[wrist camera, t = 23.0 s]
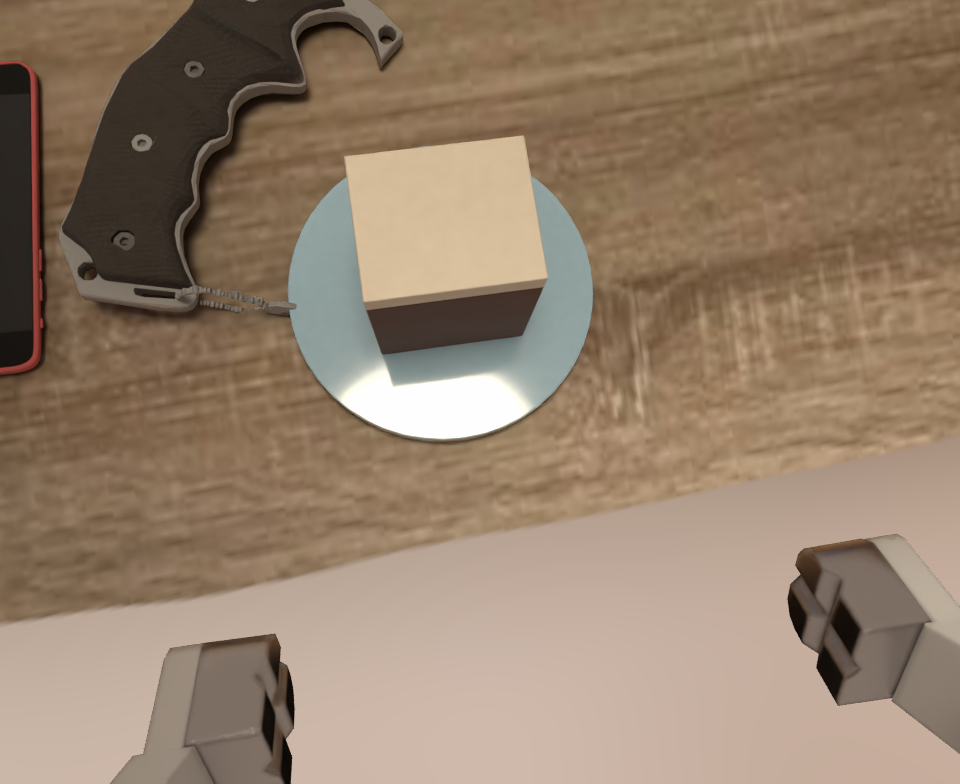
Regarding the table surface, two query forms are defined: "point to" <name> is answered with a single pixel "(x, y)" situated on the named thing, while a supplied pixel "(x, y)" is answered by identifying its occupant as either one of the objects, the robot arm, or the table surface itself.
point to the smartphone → (19, 220)
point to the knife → (186, 141)
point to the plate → (442, 370)
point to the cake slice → (446, 242)
